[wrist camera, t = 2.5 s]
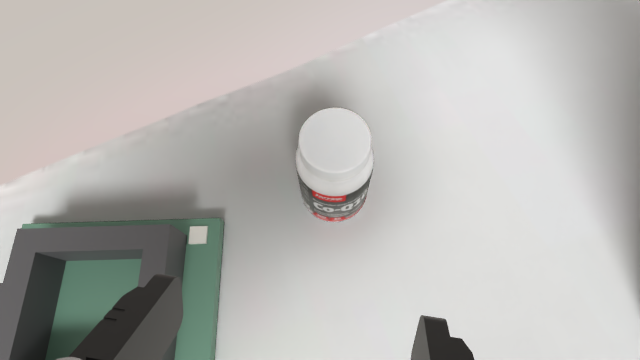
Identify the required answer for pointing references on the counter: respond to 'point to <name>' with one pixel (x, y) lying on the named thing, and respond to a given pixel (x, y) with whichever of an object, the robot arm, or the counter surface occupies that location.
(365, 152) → the pill bottle
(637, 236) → the counter surface
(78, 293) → the socket board
